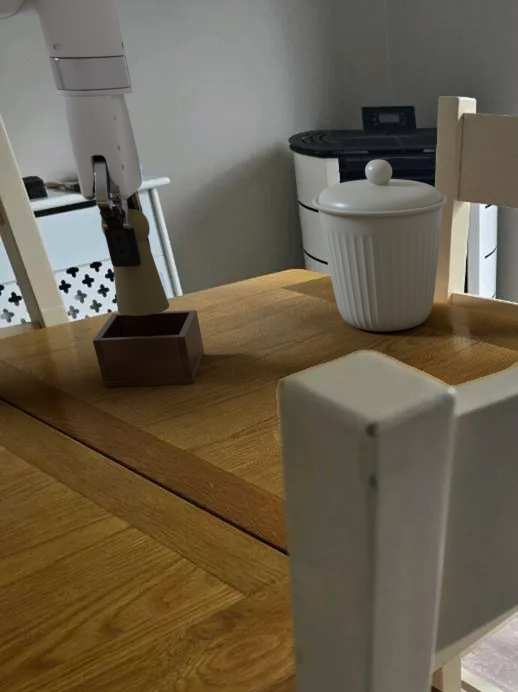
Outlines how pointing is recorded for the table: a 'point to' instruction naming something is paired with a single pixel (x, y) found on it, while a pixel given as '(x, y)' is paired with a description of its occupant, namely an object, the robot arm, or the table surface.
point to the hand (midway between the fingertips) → (132, 257)
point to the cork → (139, 276)
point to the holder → (149, 349)
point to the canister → (382, 248)
